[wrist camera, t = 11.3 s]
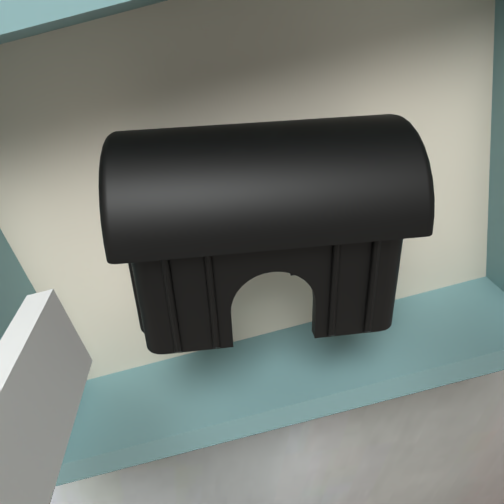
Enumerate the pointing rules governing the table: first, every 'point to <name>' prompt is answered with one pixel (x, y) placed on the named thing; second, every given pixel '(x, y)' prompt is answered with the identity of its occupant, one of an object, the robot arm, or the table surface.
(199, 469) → the table surface
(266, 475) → the table surface
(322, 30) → the walled box
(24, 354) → the robot arm
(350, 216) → the end cap
